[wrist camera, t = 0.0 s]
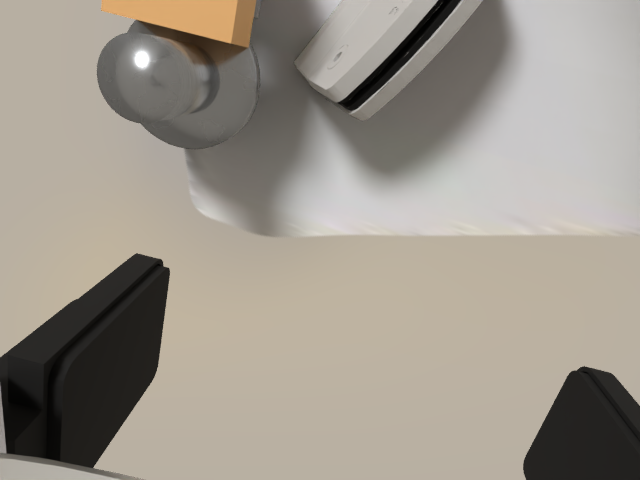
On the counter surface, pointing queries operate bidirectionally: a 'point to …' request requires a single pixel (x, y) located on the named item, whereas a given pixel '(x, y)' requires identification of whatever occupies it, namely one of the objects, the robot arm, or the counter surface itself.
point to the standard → (180, 83)
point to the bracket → (193, 16)
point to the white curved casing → (378, 49)
